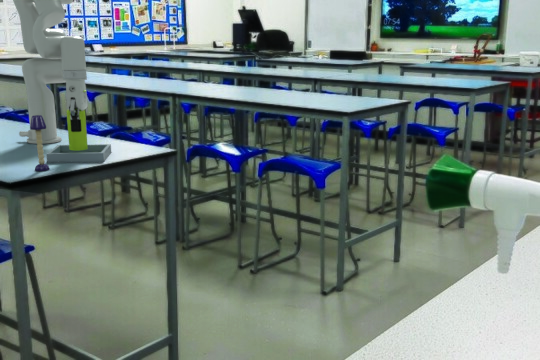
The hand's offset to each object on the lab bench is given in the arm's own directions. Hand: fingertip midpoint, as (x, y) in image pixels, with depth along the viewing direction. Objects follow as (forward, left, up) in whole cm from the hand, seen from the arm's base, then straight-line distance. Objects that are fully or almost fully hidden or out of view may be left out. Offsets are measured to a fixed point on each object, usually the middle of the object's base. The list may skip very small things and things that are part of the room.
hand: (78, 129), depth 201 cm
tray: (0, 0, -10) cm, 10 cm away
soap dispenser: (0, 0, -7) cm, 7 cm away
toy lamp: (-8, -18, -10) cm, 22 cm away
